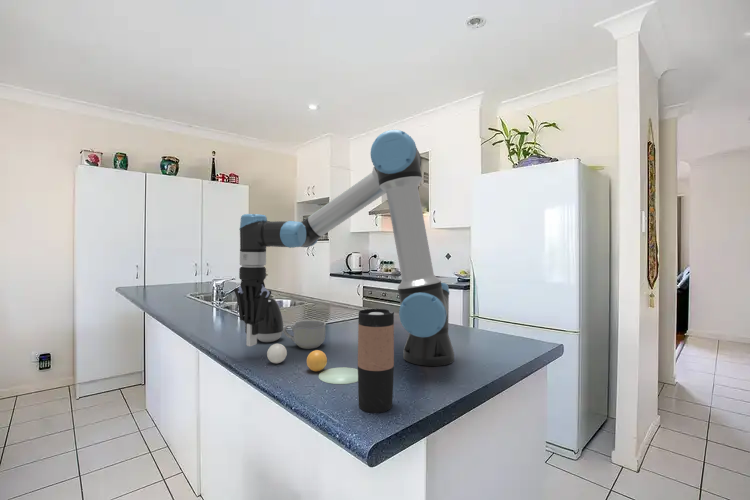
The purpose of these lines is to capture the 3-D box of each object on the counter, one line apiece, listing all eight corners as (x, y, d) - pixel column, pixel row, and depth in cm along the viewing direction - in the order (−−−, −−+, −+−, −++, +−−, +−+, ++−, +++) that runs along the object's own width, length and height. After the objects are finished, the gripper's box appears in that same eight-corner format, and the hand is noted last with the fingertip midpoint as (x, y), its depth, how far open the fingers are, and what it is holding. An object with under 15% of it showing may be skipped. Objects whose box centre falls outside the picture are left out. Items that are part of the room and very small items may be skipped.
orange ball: (330, 369, 102) (331, 349, 102) (319, 375, 97) (319, 354, 97) (314, 366, 105) (314, 346, 104) (302, 372, 100) (302, 351, 100)
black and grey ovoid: (270, 335, 140) (271, 295, 139) (289, 339, 133) (289, 297, 133) (247, 341, 131) (247, 298, 131) (266, 345, 125) (266, 300, 125)
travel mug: (351, 410, 77) (352, 313, 77) (365, 396, 84) (366, 307, 84) (386, 416, 74) (387, 316, 74) (398, 401, 81) (398, 310, 81)
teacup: (328, 343, 130) (329, 320, 130) (321, 351, 119) (321, 326, 119) (289, 341, 131) (290, 318, 131) (279, 350, 120) (279, 325, 120)
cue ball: (290, 361, 108) (290, 342, 108) (277, 367, 104) (277, 347, 103) (276, 359, 111) (276, 340, 111) (262, 364, 106) (262, 344, 106)
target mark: (372, 372, 100) (372, 371, 100) (349, 387, 89) (349, 386, 89) (335, 365, 105) (335, 364, 105) (309, 379, 95) (309, 378, 95)
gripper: (227, 265, 111) (226, 344, 111) (259, 267, 105) (258, 351, 105) (246, 264, 118) (245, 339, 118) (278, 266, 112) (277, 345, 112)
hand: (251, 344), depth 112 cm, fingers closed
